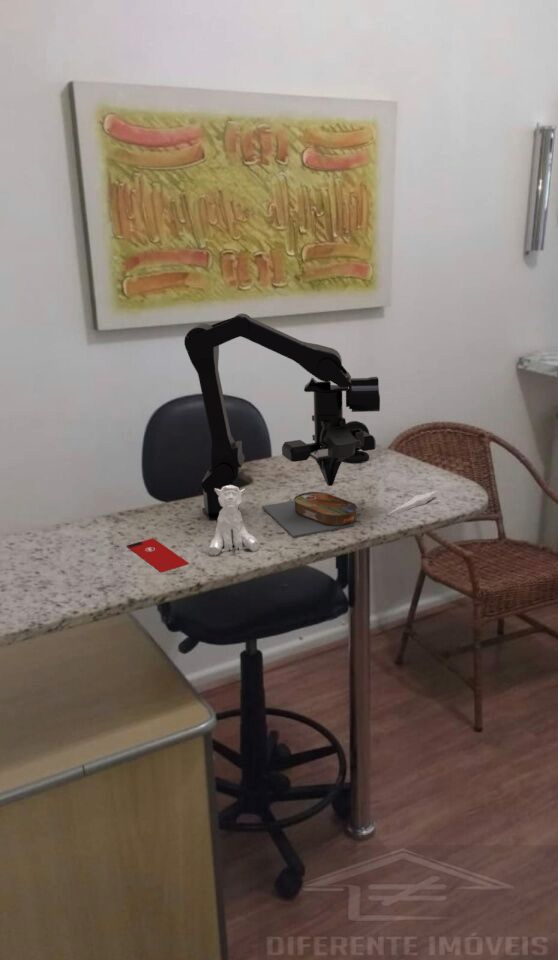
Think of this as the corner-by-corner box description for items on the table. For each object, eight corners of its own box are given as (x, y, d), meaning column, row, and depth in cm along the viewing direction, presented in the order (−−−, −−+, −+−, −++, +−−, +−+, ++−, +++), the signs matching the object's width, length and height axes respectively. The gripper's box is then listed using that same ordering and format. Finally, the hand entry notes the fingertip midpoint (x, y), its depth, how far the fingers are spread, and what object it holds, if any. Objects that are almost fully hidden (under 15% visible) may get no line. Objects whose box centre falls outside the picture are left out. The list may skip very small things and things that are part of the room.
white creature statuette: (209, 557, 138) (204, 496, 134) (204, 539, 146) (199, 481, 142) (259, 551, 140) (256, 491, 136) (252, 534, 148) (248, 476, 144)
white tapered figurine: (431, 495, 164) (431, 487, 164) (440, 498, 162) (440, 490, 162) (383, 516, 156) (383, 508, 155) (392, 520, 154) (392, 512, 153)
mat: (293, 537, 145) (293, 535, 145) (262, 507, 161) (262, 506, 161) (353, 526, 150) (353, 524, 149) (317, 498, 166) (317, 496, 165)
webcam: (341, 464, 188) (341, 425, 185) (337, 455, 195) (336, 418, 192) (372, 462, 188) (372, 424, 185) (366, 453, 195) (366, 416, 192)
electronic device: (190, 565, 136) (153, 540, 148) (189, 563, 136) (153, 537, 148) (161, 574, 133) (126, 548, 145) (161, 572, 133) (126, 545, 145)
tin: (365, 507, 151) (335, 515, 146) (364, 522, 152) (334, 530, 147) (316, 488, 162) (286, 495, 157) (315, 502, 163) (285, 509, 158)
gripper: (300, 427, 140) (303, 505, 145) (389, 415, 146) (388, 490, 151) (279, 414, 150) (282, 488, 155) (363, 403, 156) (363, 474, 161)
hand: (329, 485), depth 155 cm, fingers closed
